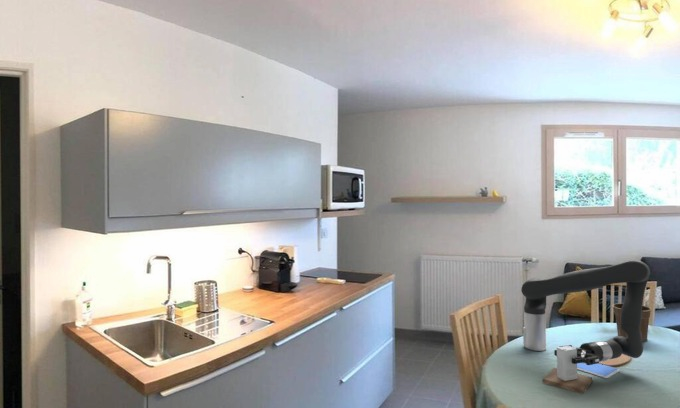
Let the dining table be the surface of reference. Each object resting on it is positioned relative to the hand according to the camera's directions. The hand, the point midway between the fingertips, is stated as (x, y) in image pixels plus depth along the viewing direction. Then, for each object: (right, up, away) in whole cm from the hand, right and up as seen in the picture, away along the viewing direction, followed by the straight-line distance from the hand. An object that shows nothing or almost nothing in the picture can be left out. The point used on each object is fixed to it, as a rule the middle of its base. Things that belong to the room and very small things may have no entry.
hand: (563, 357), depth 159 cm
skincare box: (+2, -9, 0) cm, 9 cm away
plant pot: (+61, -8, +47) cm, 77 cm away
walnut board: (+2, -10, +1) cm, 10 cm away
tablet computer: (+18, -10, +14) cm, 25 cm away
